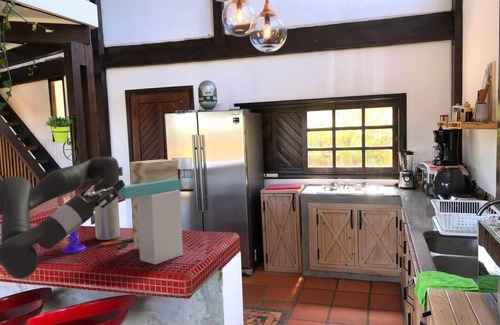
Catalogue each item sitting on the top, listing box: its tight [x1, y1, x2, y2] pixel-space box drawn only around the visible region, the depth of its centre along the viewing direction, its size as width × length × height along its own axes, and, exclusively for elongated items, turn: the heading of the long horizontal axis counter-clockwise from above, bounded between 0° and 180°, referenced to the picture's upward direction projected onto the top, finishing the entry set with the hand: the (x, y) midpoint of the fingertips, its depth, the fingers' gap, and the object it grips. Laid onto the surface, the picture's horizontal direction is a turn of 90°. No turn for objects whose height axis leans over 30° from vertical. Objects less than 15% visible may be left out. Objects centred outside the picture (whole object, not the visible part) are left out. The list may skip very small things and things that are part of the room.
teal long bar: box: [118, 178, 181, 200], centre depth 132 cm, size 4×22×4 cm, turn 142°
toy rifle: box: [85, 237, 134, 251], centre depth 152 cm, size 34×1×10 cm
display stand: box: [129, 159, 179, 251], centre depth 148 cm, size 10×14×32 cm
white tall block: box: [137, 189, 184, 265], centre depth 135 cm, size 8×12×22 cm, turn 142°
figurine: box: [62, 228, 87, 255], centre depth 146 cm, size 8×8×10 cm
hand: (114, 181), depth 120 cm, fingers open, 8 cm apart
